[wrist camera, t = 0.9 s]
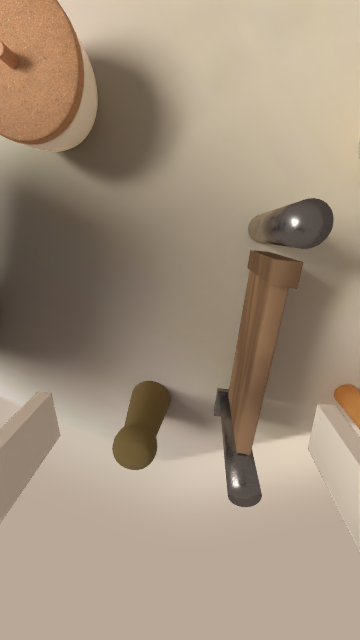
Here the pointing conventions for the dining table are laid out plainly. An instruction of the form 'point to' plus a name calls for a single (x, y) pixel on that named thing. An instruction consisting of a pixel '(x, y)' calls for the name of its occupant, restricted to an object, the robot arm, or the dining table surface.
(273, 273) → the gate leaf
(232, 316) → the dining table surface
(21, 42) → the lidded jar
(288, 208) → the gate frame
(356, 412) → the post
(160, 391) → the cork
